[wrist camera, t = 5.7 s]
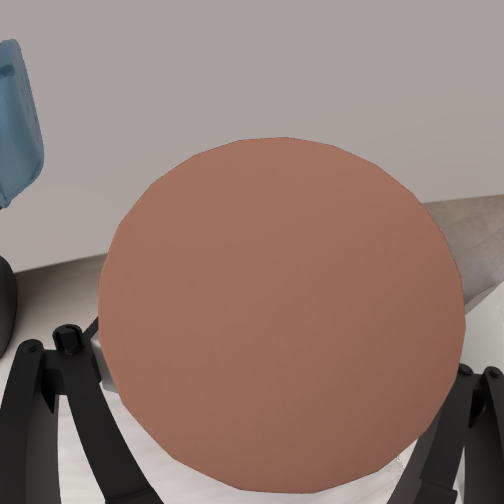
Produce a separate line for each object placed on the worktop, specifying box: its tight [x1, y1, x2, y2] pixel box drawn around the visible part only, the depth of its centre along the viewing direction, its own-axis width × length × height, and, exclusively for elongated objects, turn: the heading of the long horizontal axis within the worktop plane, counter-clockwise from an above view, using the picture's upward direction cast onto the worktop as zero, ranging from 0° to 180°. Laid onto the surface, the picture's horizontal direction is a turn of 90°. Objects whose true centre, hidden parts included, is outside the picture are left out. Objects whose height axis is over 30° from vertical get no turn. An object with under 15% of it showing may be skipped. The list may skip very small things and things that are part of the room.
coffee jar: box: [98, 137, 466, 494], centre depth 15 cm, size 11×11×18 cm
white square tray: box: [399, 279, 504, 504], centre depth 18 cm, size 18×18×6 cm
